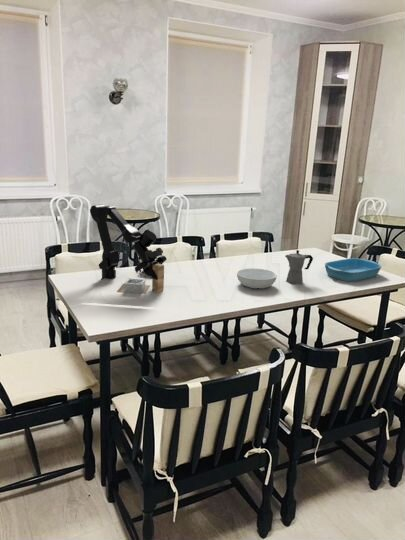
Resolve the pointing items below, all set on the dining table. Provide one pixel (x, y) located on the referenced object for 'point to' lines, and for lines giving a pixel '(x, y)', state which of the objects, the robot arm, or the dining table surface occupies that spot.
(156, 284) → the oak block
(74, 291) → the dining table surface
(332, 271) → the casserole dish
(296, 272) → the coffeepot
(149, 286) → the walnut board
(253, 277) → the serving bowl
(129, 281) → the steel end cap
